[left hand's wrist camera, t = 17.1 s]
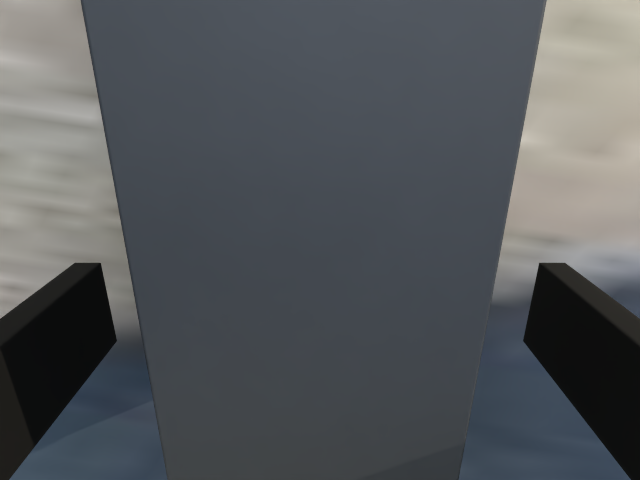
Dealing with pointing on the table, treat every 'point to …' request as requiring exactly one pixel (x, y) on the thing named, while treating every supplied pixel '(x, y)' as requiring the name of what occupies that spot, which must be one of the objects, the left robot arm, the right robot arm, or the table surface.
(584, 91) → the table surface
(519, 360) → the table surface
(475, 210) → the box
